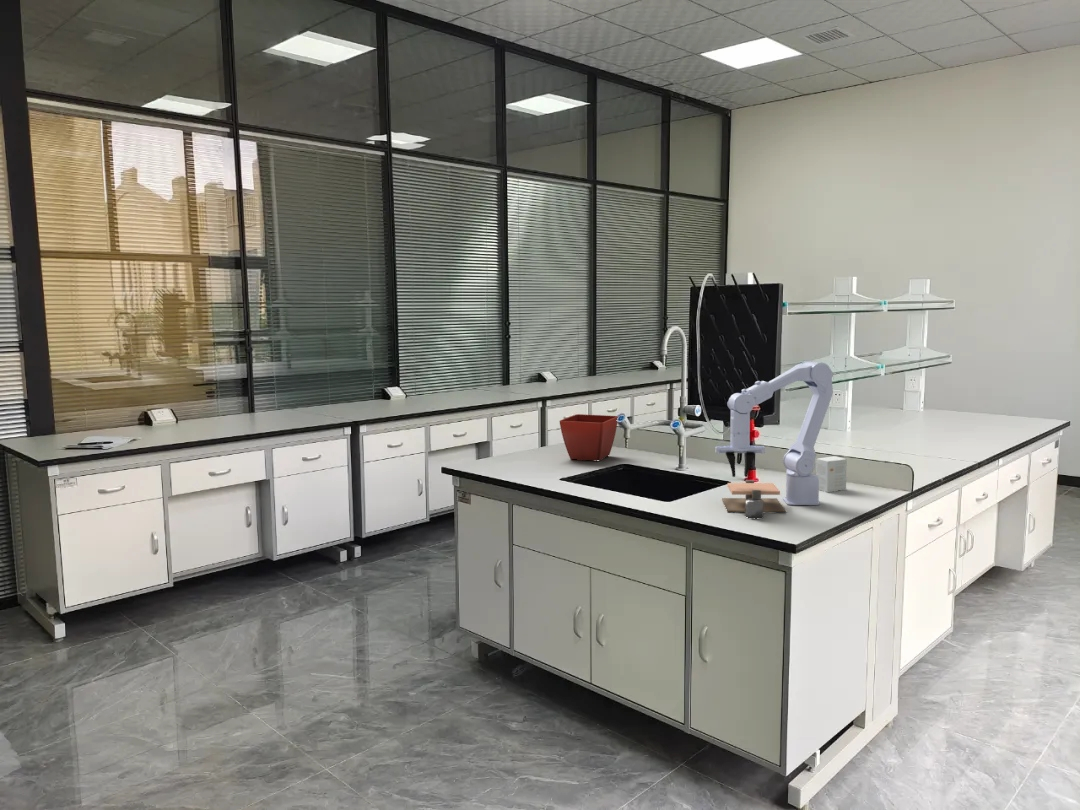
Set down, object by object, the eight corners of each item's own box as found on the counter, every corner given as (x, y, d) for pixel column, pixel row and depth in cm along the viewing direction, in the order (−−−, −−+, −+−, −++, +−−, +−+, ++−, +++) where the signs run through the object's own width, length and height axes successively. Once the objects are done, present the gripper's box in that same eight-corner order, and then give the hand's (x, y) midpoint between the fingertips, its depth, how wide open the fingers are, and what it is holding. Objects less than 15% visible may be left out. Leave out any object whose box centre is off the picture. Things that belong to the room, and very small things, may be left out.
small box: (834, 486, 258) (835, 455, 257) (846, 490, 253) (847, 458, 252) (815, 489, 256) (815, 458, 254) (827, 492, 250) (827, 461, 249)
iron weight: (761, 514, 227) (761, 498, 226) (764, 519, 222) (764, 502, 221) (744, 514, 227) (744, 498, 227) (746, 519, 222) (746, 502, 222)
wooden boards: (776, 500, 243) (777, 480, 242) (786, 512, 228) (786, 491, 227) (721, 499, 245) (722, 480, 244) (727, 512, 230) (727, 491, 229)
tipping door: (773, 485, 240) (773, 482, 240) (780, 494, 229) (780, 491, 229) (727, 485, 242) (727, 482, 242) (732, 494, 231) (732, 491, 231)
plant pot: (603, 464, 305) (602, 422, 303) (559, 461, 313) (558, 420, 311) (619, 455, 322) (619, 415, 320) (577, 452, 330) (576, 414, 328)
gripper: (717, 434, 231) (717, 479, 232) (766, 434, 229) (766, 479, 231) (714, 431, 238) (714, 474, 239) (762, 430, 236) (762, 474, 238)
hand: (739, 476), depth 236 cm, fingers open, 3 cm apart
